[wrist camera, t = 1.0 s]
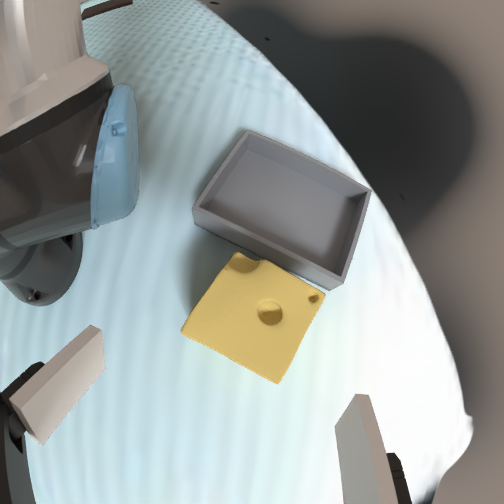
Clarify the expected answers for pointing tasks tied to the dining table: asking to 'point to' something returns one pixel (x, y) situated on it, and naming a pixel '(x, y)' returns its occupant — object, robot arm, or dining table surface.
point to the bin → (285, 209)
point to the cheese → (255, 315)
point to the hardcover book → (104, 7)
